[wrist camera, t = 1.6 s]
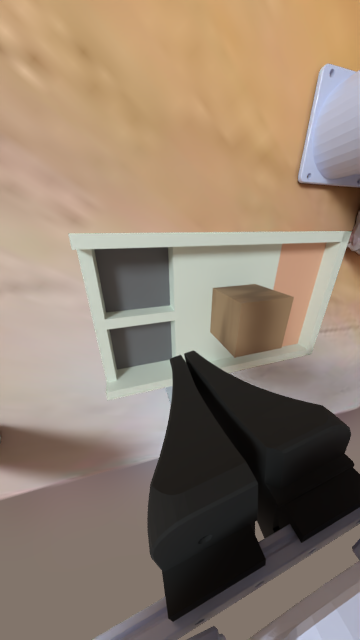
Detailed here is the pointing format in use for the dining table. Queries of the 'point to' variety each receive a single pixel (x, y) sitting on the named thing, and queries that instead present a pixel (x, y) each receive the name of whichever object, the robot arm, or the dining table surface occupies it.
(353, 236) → the grey-brown rough block
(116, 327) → the tray
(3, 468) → the dining table surface
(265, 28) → the dining table surface
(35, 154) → the dining table surface
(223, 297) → the walnut block
